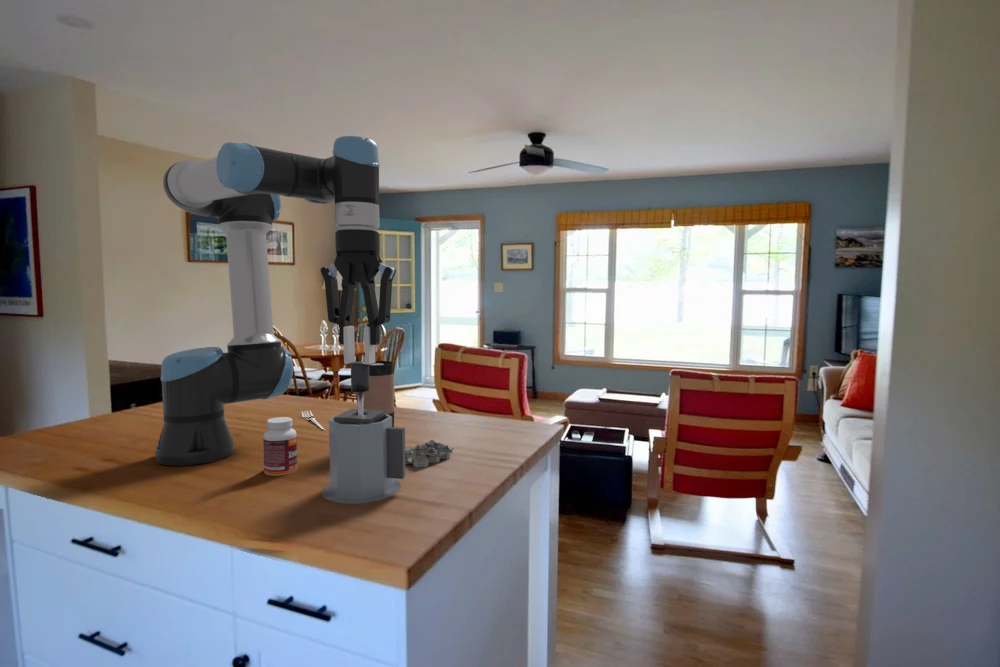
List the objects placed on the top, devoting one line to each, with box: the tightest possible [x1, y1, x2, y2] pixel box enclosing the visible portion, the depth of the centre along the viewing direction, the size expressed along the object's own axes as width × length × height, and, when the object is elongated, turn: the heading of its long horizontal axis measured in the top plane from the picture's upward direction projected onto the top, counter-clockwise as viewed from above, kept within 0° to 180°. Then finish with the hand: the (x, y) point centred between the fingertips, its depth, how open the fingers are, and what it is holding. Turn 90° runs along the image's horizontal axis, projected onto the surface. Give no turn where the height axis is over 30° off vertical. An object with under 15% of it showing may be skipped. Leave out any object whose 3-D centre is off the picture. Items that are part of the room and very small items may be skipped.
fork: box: [301, 410, 326, 430], centre depth 149 cm, size 3×20×2 cm, turn 33°
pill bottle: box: [262, 416, 298, 476], centre depth 108 cm, size 6×6×11 cm
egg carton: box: [405, 439, 454, 468], centre depth 116 cm, size 11×8×4 cm
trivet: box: [321, 478, 402, 505], centre depth 99 cm, size 14×14×1 cm
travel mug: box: [363, 360, 395, 427], centre depth 125 cm, size 8×8×20 cm
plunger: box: [350, 361, 370, 425], centre depth 98 cm, size 8×8×21 cm
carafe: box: [328, 408, 406, 500], centre depth 98 cm, size 13×10×14 cm
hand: (359, 362), depth 97 cm, fingers open, 3 cm apart
